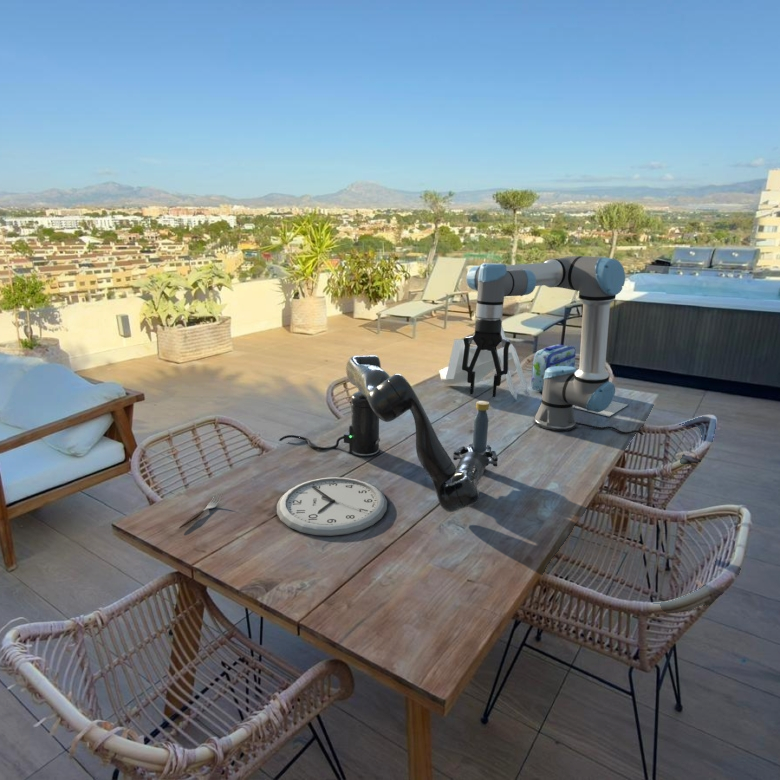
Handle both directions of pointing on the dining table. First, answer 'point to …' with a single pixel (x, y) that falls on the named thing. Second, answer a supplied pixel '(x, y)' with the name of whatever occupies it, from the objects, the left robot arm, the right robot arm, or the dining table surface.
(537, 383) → the lunch box
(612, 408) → the invitation card
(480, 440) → the bottle
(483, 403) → the cap
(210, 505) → the fork
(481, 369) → the white plastic object
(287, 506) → the wall clock
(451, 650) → the dining table surface
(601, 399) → the right robot arm
